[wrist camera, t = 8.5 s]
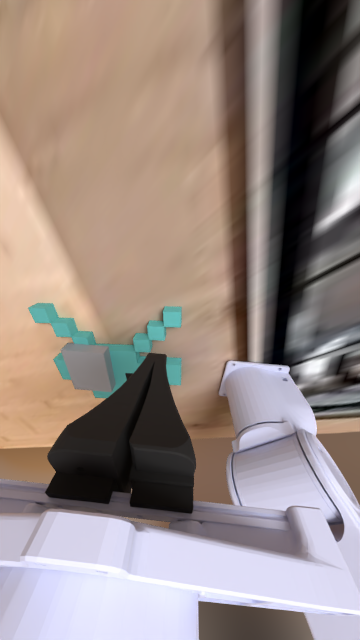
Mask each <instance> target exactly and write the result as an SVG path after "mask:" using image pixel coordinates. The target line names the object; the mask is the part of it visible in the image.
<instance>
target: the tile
mask: <svg viewBox="0 0 360 640" xmlns="http://www.w3.org/2000/svg"><path fill="white" fill-rule="evenodd" d="M61 353H62V355H63V358H64V361H65V364H66V366H67V369H68V372H69V374H70V377H71V380H72V382H73V385H74V388H75V389H81V390H92V391H103V392H112V391H113V389H114V387H115V385H116V383H115V378H114V372H113V367H112V362H111V357H110V352H109V346H98V345H85V344H74V343H67V344H66V345H65V346H64V347H63V348H62V349H61Z"/></svg>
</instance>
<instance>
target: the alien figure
mask: <svg viewBox="0 0 360 640" xmlns="http://www.w3.org/2000/svg"><path fill="white" fill-rule="evenodd" d="M28 309H29V311H30V313H31V315H32V317H33V319H34V321H35V323H51V325H52V327H53V329H54V332H55V334H56V336H57V337H72V339H73V342H74V344H85V345H98V346H109V352H110V357H111V362H112V367H113V372H114V378H115V383H116V385H115V387H114V389H113V391H112V392H103V391H93V393H94V396H95V398H108V397H109V396H110V395H112V394H113V393H114V392H115V391H116V390H117V389H118V388H120V387H121V386H122V385H123V384H124V383H125V382H126V381H127V380H128V379H129V377H130V376H131V375H132V374H133V373H134V372H135V371H136V370H137V368H138V367H139V366H140V365H141V363H142V362H143V361H144V359H145V358H146V357H145V356H140V354H139V352H150V351H151V348H152V340H163V341H165V337H166V327H181V307H167V306H165V307H164V310H163V320H164V321H149V323H148V326H147V329H148V334H145V333H136V335H135V336H134V338H133V343H134V345H120V344H96V342H95V338H94V335H93V332H88V331H78V329H77V327H76V324H75V321H74V318H59V317H58V315H57V312H56V310H55V307H54V305H53V304H50V303H37V304H35V305H33V306H31V307H29V308H28ZM53 360H54V362H55V364H56V366H57V368H58V370H59V372H60V374H61V376H62V378H63V379H69V380H71V377H70V374H69V372H68V369H67V366H66V364H65V361H64V358H63V355H62V353H60V354H59V355H57V356H56V357H55V358H54V359H53ZM166 370H167V377H168V382H169V385H181V358H169V357H167V362H166Z"/></svg>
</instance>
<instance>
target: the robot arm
mask: <svg viewBox="0 0 360 640" xmlns="http://www.w3.org/2000/svg"><path fill="white" fill-rule="evenodd" d="M166 362H167V356H166V355H165V354H155V353H149V354H148V355H147V357H146V358H145V359H144V361H143V362H142V363H141V365H140V366H139V367H138V368H137V370H136V371H135V372H134V373H133V374H132V375H131V376H130V377H129V379H128V380H127V381H126V382H125V383H124V384H123V385H122V386H121V387H120V388H118V389H117V390H116V391H115V392H114V393H113V394H112V395H110V396H109V397H108V398H107V399H106V400H104V401H103V402H102V403H100V404H99V405H98V406H96V407H95V408H93V409H92V410H91V411H89V412H88V413H86V414H85V415H83V416H82V417H80V418H78V419H77V420H75V421H74V422H72V423H71V424H69V425H67V426H66V428H65V429H64V430H63V432H62V433H61V434H60V436H59V437H58V439H57V440H56V442H55V443H54V445H53V447H52V448H51V450H50V451H49V453H48V456H47V457H48V460H49V462H50V464H51V465H52V467H53V468H54V469H55V471H56V473H55V475H54V477H53V479H52V480H51V483H50V484H43V483H34V482H25V481H16V480H7V479H0V640H199V636H198V635H199V633H198V632H199V631H198V601H206V602H215V603H225V604H235V605H244V606H254V607H262V608H272V609H281V610H290V611H298V612H304V614H305V617H306V620H307V622H308V625H309V628H310V630H311V633H312V635H313V638H314V640H360V506H359V504H358V502H357V500H356V498H355V496H354V494H353V492H352V490H351V488H350V487H349V485H348V483H347V482H346V480H345V478H344V477H343V475H342V473H341V472H340V470H339V469H338V467H337V465H336V464H335V462H334V461H333V459H332V458H331V456H330V455H329V454H328V452H327V451H326V449H325V448H324V447H323V445H322V444H321V443H320V441H319V440H318V439H317V438H316V432H317V425H316V420H315V417H314V414H313V411H312V409H311V407H310V406H309V404H308V402H307V401H306V399H305V398H304V396H303V395H302V393H301V392H300V390H299V389H298V387H297V386H296V384H295V383H294V381H293V380H292V378H291V377H290V375H289V374H288V372H289V370H290V368H289V367H288V366H282V365H272V364H261V363H251V362H240V361H228V362H227V364H226V367H225V371H224V375H223V378H222V382H221V385H220V389H219V395H220V396H227V397H228V402H229V407H230V411H231V416H232V421H233V426H234V430H235V435H236V440H234V441H232V447H233V452H231V453H230V454H229V456H228V459H227V465H226V479H227V485H228V490H229V493H230V497H231V499H232V502H233V505H228V504H220V503H211V502H202V501H193V487H194V472H195V469H196V459H195V454H194V450H193V447H192V443H191V439H190V436H189V434H188V432H187V430H186V428H185V426H184V424H183V422H182V420H181V418H180V415H179V413H178V410H177V408H176V405H175V403H174V400H173V397H172V393H171V390H170V386H169V382H168V377H167V370H166ZM131 488H132V494H131ZM120 516H121V517H120ZM123 517H130V518H139V519H147V520H156V521H164V522H171V523H170V524H169V529H167V528H163V527H158V526H153V525H148V524H144V523H139V522H134V521H130V520H129V519H126V518H123Z"/></svg>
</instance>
